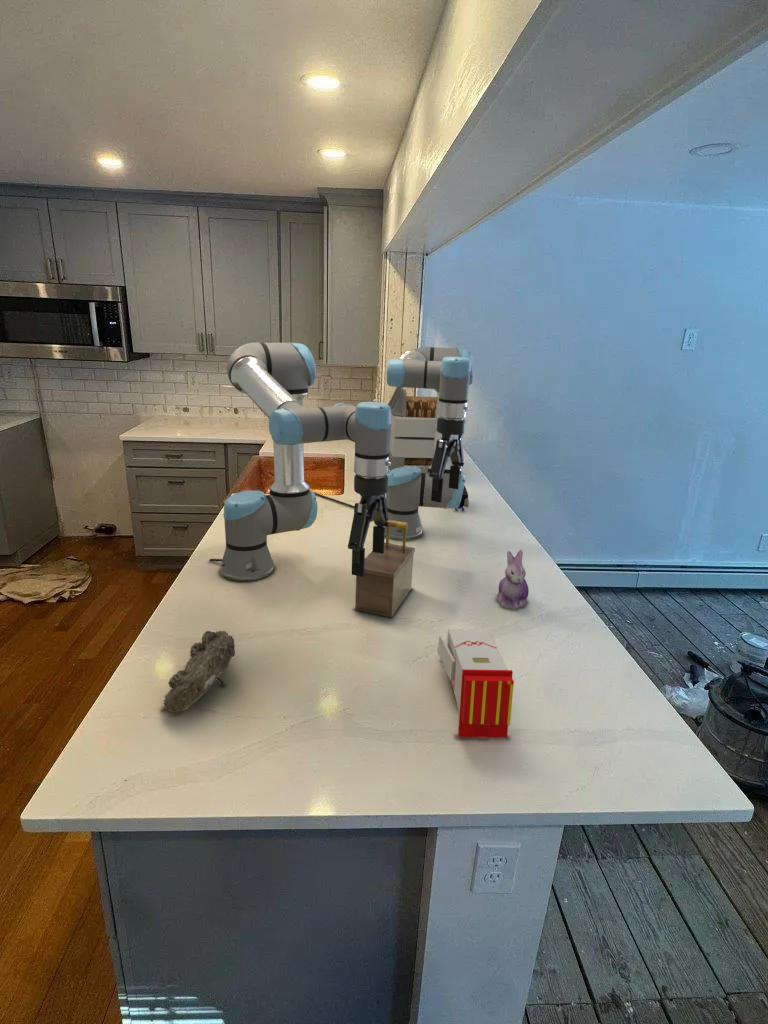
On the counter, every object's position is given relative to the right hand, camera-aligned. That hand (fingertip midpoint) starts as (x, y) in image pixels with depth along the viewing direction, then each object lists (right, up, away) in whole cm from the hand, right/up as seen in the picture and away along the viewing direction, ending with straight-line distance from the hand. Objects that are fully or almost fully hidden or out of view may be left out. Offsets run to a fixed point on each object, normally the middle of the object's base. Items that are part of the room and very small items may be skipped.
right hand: (445, 494), depth 156 cm
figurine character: (+13, -3, +74) cm, 75 cm away
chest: (-17, -28, -1) cm, 33 cm away
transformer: (0, +14, +119) cm, 119 cm away
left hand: (-20, -17, -25) cm, 37 cm away
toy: (+1, -42, -38) cm, 57 cm away
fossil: (-54, -40, -39) cm, 78 cm away
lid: (-16, -18, -5) cm, 25 cm away
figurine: (+19, -30, 0) cm, 35 cm away
